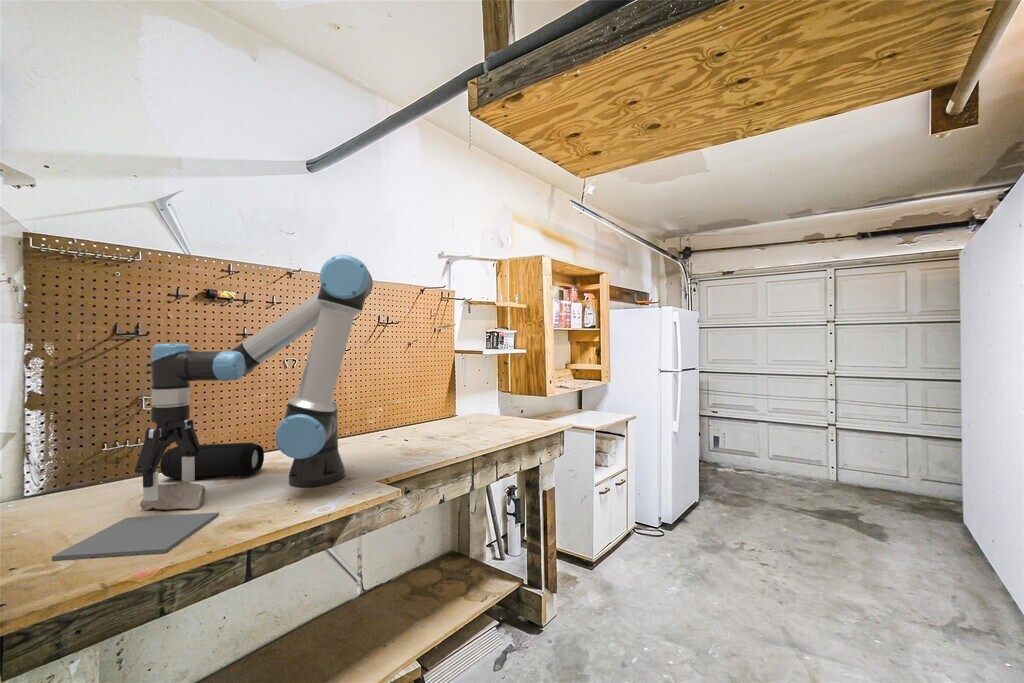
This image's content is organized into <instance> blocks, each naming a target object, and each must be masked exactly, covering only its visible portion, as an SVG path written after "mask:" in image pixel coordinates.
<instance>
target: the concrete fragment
mask: <svg viewBox="0 0 1024 683" xmlns="http://www.w3.org/2000/svg"><path fill="white" fill-rule="evenodd" d="M206 493H207V492H206V487H205V486H204V485H201V484H199V483H194V482H182V481H177V482H175V483H158V500H153V501H143V498H142V499H141V501H140V502H139V503H140V504H139V506H140V507H141V510H146V511H150V510H153V509H155V510H166V511H169V510H170V511H171V510H172V509H173V510H177V509H187V510H197V509H199V508H201V507H202V503H203V504H204V502H205V496H206ZM149 509H150V510H149ZM173 510H172V511H173Z"/></svg>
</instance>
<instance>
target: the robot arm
mask: <svg viewBox="0 0 1024 683" xmlns="http://www.w3.org/2000/svg"><path fill="white" fill-rule="evenodd" d="M319 282H320V287H319V291H318V292H317V293H315V294H313V295H312V296H310V297H309V298H307V299H306V300H304V301H303V302H301V303H300V304H299V305H297V306H295V307H294V308H293V309H291V310H289V311H288V312H286V313H285V314H283V315H282V316H280V317H279V318H277V319H276V320H274V321H273V322H271V323H270V324H268V325H267V326H265V327H264V328H262V329H261V330H259V331H258V332H256V333H255V334H253V335H251V336H250V337H248V338H247V339H246V340H244V341H243V342H241V343H240V344H238V345H236V346H235V347H233V348H232V349H231V350H216V351H215V350H211V351H210V350H207V351H206V350H205V351H203V350H202V351H193V350H191V346H190V345H189V344H188V343H156V344H155V345H153V347H152V348H151V349H152V352H151V361H150V364H151V405H152V406H153V407H152V408H151V409H150V411H151V413H150V421H151V422H152V423H155V424H156V428H154V429H150V428H149V429H146V430H145V434H144V442H143V444H142V447H141V449H140V452H139V456H138V460H137V462H136V465H135V468H134V473H135V474H142V487H143V489H142V490H143V493H142V494H143V496H142V499H143V501H153V500H158V484H159V471H156V470H157V469H158V466H159V464H160V463H161V459H162V456H163V455H164V453H165V452H166V451H167V448H169V447H170V446H171V444H173V443H175V444H176V445H177V446H178V447H179V448H180V450H181V451H182V453H183V454H184V455H185V456H186V457H182V479H181V482H190V483H194V482H195V456H198V455H199V454H200V452H199V451H200V450H201V448H200V445H201V444H200V442H199V439H198V436H197V434H196V431H195V428H194V420H193V419H190V412H191V411H190V409H191V406H190V404H189V403H191V402H190V401H191V398H190V397H191V396H190V395H191V393H190V388H191V387H190V386H191V385H190V384H191V382H196V381H197V382H198V381H200V382H201V381H203V382H204V381H205V382H207V381H208V382H210V381H212V382H215V381H217V382H218V381H220V382H221V381H222V382H228V381H237V380H238V381H239V380H240V379H241V378H242V377H244V376H247V375H249V374H250V373H252V372H254V370H255V369H256V367H258V366H259V365H260V364H262V363H263V362H265V361H267V359H269V358H270V357H272V356H274V355H275V354H277V353H278V352H280V351H281V350H283V349H284V348H285V347H287V346H289V345H290V344H291V343H293V342H295V341H296V340H297V339H299V338H300V337H302V336H303V335H306V333H308V332H310V331H311V330H312V329H314V328H315V329H314V333H313V337H312V340H311V343H310V347H309V351H308V354H307V359H306V362H305V366H304V369H303V373H302V375H301V376H302V377H301V381H300V383H299V387H298V391H297V394H296V396H294V397H293V398H291V399H289V400H288V403H287V406H286V411H285V414H284V417H283V419H282V420H281V422H279V423H278V426H277V428H276V431H275V435H274V439H275V443H276V446H277V448H278V449H279V451H280V452H281V453H282V454H284V455H285V456H286V457H289V458H290V459H293V461H292V463H291V464H292V465H291V468H290V470H289V472H288V473H289V474H288V484H289V485H290V486H293V487H298V488H308V487H309V488H311V487H318V486H323V485H324V486H325V485H330V484H333V483H335V482H338V481H340V480H343V478H344V477H345V476H346V468H345V465H344V462H343V460H342V457H341V454H340V453H339V452H340V451H339V436H338V435H339V433H338V432H339V430H338V428H339V426H338V412H339V410H338V404H337V402H336V401H335V400H333V396H334V394H335V389H336V386H337V383H338V378H339V375H340V371H341V368H342V364H343V361H344V357H345V353H346V348H347V346H348V342H349V338H350V336H351V335H350V334H351V331H352V327H353V324H354V323H353V322H354V319H355V317H356V316H357V315H359V314H361V313H362V312H363V309H364V305H365V302H366V299H367V298H368V297H369V296H370V294H372V293H371V292H372V290H373V287H374V286H373V285H374V282H373V277H372V274H371V273H370V271H369V270H368V267H367V266H366V264H365V263H364V262H363V261H362V260H360V259H358V258H356V257H355V256H352V255H349V254H347V255H346V254H339V255H335V256H332V257H330V258H329V259H328V260H326V261H325V263H323V265H322V267H321V269H320V274H319ZM193 446H195V447H193Z"/></svg>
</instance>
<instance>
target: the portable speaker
mask: <svg viewBox="0 0 1024 683" xmlns="http://www.w3.org/2000/svg"><path fill="white" fill-rule="evenodd" d="M199 445H200V448H201V450H200V451H199V452H200V454H199V455H198V456H195V478H198V479H214V478H215V479H216V478H219V477H220V478H234V477H235V478H238V476H240V477H249V476H252V475H253V474H257V473H258V472H260V470H261V469H262V467H263V466H264V465H263V464H264V459H265V452H264V448H263V447H262V445H260V444H258V443H254V442H231V443H212V444H210V443H207V444H206V443H205V444H199ZM193 447H195V446H193ZM182 457H186V456H185V455H184V454H183V453H182V451H181V450H180V448H179V447H178V445H177V446H174V447H171V448H169V449H168V450H167V449H166V450H165V452H164V454H163V456H162V458H161V460H160V462H159V464H160V472H161V474H162V475H163V476H164V477H167V478H169V479H173V480H182ZM220 478H219V479H220Z"/></svg>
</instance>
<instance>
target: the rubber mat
mask: <svg viewBox="0 0 1024 683" xmlns="http://www.w3.org/2000/svg"><path fill="white" fill-rule="evenodd" d="M218 515H219V516H220V512H202V513H186V514H183V513H182V514H169V515H151V516H149V515H148V516H134V517H133V516H132V517H125V518H123V519H121V520H119V521H117V522H116V523H114V524H111V525H110V526H108V527H106V528H104V529H102V530H100V531H98V532H97V533H95V534H92V535H90V536H88V537H86V538H85V539H82V540H81V541H79V542H76V543H74V544H73V545H71V546H69V547H67V548H65V549H64V550H61V551H59V552H58V553H56V554H54V555H52V556H51V561H52V562H53V561H65V560H66V561H68V560H69V561H70V560H80V559H84V560H85V559H92V558H91V557H100V558H103V557H102V556H115V557H119V556H118V555H130V556H142V555H143V554H145V555H156V554H157V555H159V554H160V553H161V554H167V553H168V552H170V551H171V550H172V549H174V548H175V547H176V545H177V544H178V543H180V542H181V541H182V540H184V539H185V538H187V537H188V538H190V537H191V536H192V535H193V533H194V532H195V533H197V532H198V531H200V530H201V529H202V528H204V527H205V526H207V525H208V524H209V523H211V522H212V521H214V520H215V519H216V518H215V517H217V516H218ZM219 516H218V517H219ZM218 517H217V518H218ZM214 518H215V519H214ZM213 519H214V520H213ZM211 520H212V521H211ZM210 521H211V522H210ZM207 523H208V524H207ZM206 524H207V525H206ZM204 525H205V526H204ZM203 526H204V527H203ZM201 527H202V528H201ZM200 528H201V529H200ZM197 530H198V531H197ZM196 531H197V532H196ZM195 533H194V534H195ZM191 534H192V535H191ZM190 535H191V536H190ZM189 536H190V537H189ZM188 538H187V539H188ZM185 540H186V539H185ZM185 540H184V541H185ZM182 542H183V541H182ZM182 542H181V543H182ZM181 543H180V544H181ZM178 545H179V544H178ZM178 545H177V546H178ZM174 546H175V547H174ZM173 547H174V548H173ZM170 549H171V550H170ZM169 550H170V551H169ZM167 551H168V552H167ZM166 552H167V553H166ZM136 554H138V555H136ZM139 554H141V555H139ZM143 556H144V555H143Z"/></svg>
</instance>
